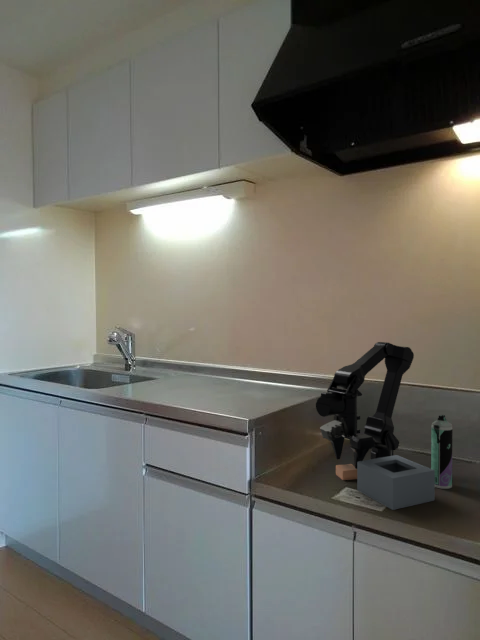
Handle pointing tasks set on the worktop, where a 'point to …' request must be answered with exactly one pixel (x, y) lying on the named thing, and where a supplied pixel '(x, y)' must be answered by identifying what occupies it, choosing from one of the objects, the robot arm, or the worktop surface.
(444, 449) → the spray can
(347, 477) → the salmon square block
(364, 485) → the box
